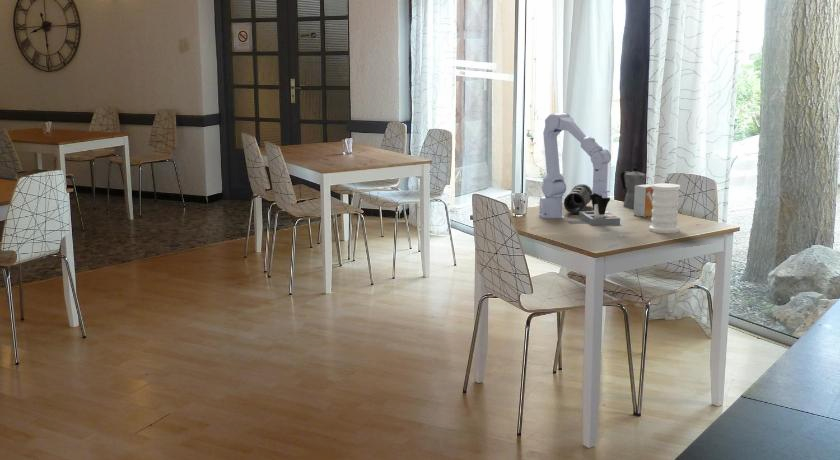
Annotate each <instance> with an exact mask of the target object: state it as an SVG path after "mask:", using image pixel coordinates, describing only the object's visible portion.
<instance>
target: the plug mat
mask: <svg viewBox="0 0 840 460" xmlns="http://www.w3.org/2000/svg"><path fill="white" fill-rule="evenodd" d="M566 222H567V223H569V224H570V225H582V224H583V225H586V224H588V223H587V222H585V221H584V220H582V219H580V220H566Z"/></svg>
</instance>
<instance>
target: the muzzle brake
mask: <svg viewBox="0 0 840 460" xmlns="http://www.w3.org/2000/svg"><path fill="white" fill-rule="evenodd" d="M589 194H593V193H592V188H591V187H590V186H589V185H587V184H582V183H580V184H577V185H575V186H574V187H573V188H572V189H571V191H570V192H569V193H568V194H567V195H566V196H565V198H564V199H563V200H564V201H563V206H564V208H565V210H566V211H567V212H568V213H569V214H572V215H577V214H579V211H584V209H585V207H586V206H587V205H588V204H589V203H590V202H592V201H591V198H590V196H589Z"/></svg>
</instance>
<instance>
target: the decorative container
mask: <svg viewBox="0 0 840 460" xmlns="http://www.w3.org/2000/svg"><path fill="white" fill-rule="evenodd" d="M651 185H652V189H653V194H652V196H653V201H652V205H653V209H652V216H651V218H650V220H651V225H649V226H648V230H650V232H652V233H656V232H657V233H656V234H675V233H676V232H677V233H678V232H680V227H679V226H677V223H678V221H679V219H678V214H679V210H678V209H679V208H678V207H679V197H680V194H679V190H681V184H677V183H669V182H668V183H664V182H663V183H653V184H651Z"/></svg>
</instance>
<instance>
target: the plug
mask: <svg viewBox="0 0 840 460" xmlns="http://www.w3.org/2000/svg"><path fill="white" fill-rule="evenodd" d="M593 211H594V218H604V215H599V212H598V204H594V210H593Z"/></svg>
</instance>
